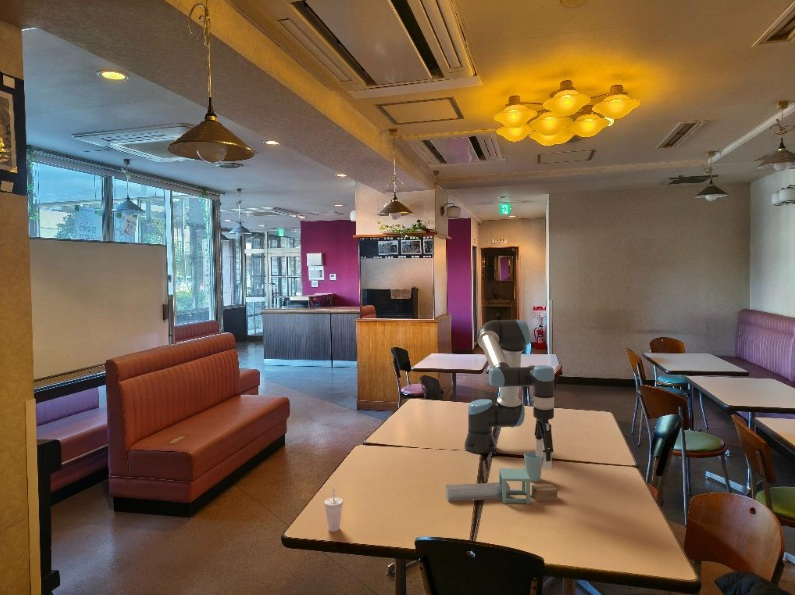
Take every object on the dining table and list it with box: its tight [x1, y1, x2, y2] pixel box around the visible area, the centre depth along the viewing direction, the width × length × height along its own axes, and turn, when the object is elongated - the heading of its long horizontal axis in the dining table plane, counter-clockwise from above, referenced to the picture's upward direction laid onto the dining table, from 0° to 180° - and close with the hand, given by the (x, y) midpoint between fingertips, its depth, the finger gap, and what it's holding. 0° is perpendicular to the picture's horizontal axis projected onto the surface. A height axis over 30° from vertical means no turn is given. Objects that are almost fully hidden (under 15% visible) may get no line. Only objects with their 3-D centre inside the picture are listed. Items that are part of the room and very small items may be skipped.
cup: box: [523, 451, 544, 483], centre depth 217 cm, size 8×8×10 cm
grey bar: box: [445, 481, 511, 502], centre depth 200 cm, size 4×24×5 cm, turn 95°
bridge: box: [498, 467, 531, 505], centre depth 199 cm, size 10×10×10 cm
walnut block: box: [531, 483, 558, 503], centre depth 199 cm, size 5×8×4 cm, turn 97°
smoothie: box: [323, 487, 344, 533], centre depth 177 cm, size 6×6×14 cm
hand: (543, 462), depth 198 cm, fingers open, 13 cm apart
